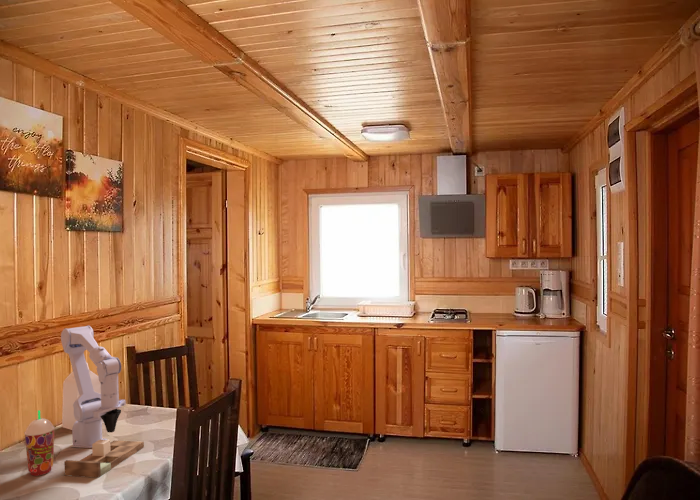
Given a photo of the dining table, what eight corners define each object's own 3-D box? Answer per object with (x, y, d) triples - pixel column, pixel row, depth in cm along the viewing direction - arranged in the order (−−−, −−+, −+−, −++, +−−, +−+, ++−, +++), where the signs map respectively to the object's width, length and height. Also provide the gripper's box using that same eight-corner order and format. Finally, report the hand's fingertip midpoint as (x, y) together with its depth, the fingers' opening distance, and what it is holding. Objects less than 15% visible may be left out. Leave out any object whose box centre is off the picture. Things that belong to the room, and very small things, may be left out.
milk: (105, 423, 211) (103, 360, 211) (78, 431, 201) (76, 366, 201) (89, 418, 217) (87, 358, 217) (62, 427, 208) (60, 363, 208)
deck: (64, 475, 160) (64, 461, 160) (114, 446, 184) (113, 433, 184) (98, 477, 158) (98, 463, 158) (143, 447, 182) (143, 434, 182)
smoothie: (33, 480, 158) (31, 416, 158) (20, 474, 162) (18, 412, 162) (61, 469, 165) (59, 408, 165) (47, 464, 169) (45, 405, 169)
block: (92, 455, 171) (92, 444, 171) (99, 451, 175) (99, 439, 175) (103, 456, 170) (103, 444, 170) (110, 451, 174) (110, 439, 174)
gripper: (105, 399, 170) (107, 439, 170) (132, 387, 185) (133, 425, 185) (87, 399, 172) (88, 438, 172) (115, 387, 186) (116, 424, 186)
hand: (110, 431), depth 178 cm, fingers closed
